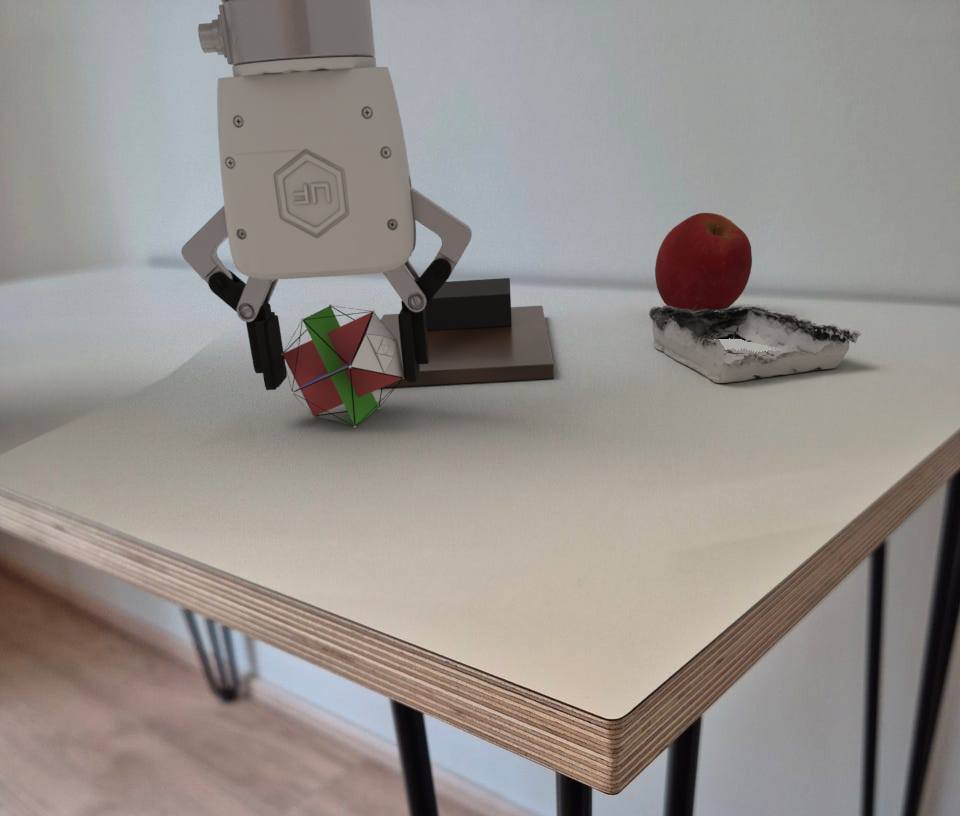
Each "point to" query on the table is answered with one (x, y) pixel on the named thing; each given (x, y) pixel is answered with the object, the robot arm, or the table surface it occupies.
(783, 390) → the table surface
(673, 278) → the apple
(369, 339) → the geometric puzzle
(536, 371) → the assembly board
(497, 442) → the table surface
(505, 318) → the black block
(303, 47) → the robot arm
